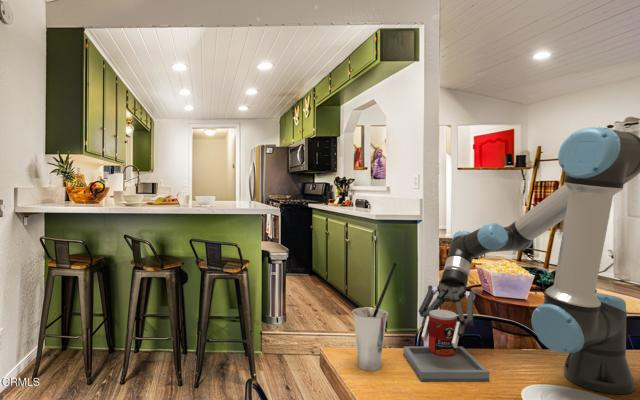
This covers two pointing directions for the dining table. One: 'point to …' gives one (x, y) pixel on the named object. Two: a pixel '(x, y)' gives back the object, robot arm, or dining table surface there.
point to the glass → (371, 332)
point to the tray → (445, 366)
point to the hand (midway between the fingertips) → (438, 342)
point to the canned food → (442, 332)
